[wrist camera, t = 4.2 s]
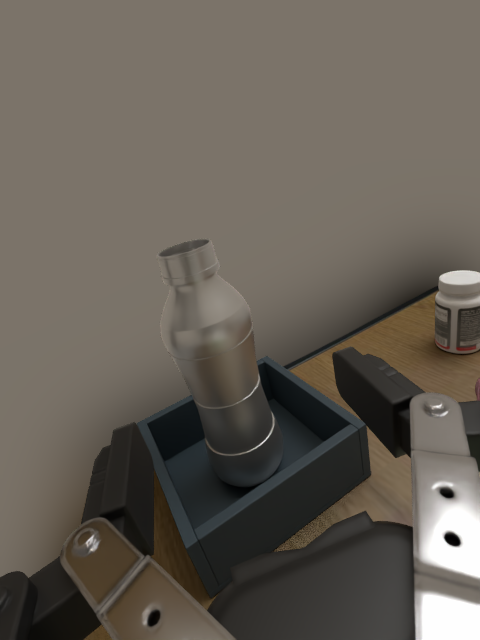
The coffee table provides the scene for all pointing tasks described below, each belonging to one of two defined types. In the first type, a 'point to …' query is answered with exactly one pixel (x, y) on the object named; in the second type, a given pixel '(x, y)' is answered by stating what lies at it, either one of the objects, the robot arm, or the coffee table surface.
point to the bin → (267, 497)
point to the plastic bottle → (219, 364)
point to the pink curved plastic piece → (477, 389)
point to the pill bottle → (458, 312)
